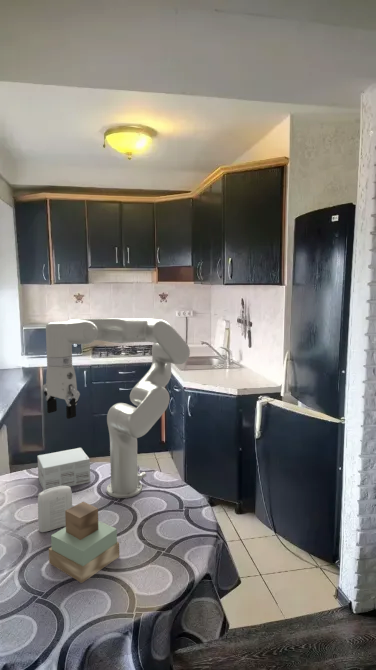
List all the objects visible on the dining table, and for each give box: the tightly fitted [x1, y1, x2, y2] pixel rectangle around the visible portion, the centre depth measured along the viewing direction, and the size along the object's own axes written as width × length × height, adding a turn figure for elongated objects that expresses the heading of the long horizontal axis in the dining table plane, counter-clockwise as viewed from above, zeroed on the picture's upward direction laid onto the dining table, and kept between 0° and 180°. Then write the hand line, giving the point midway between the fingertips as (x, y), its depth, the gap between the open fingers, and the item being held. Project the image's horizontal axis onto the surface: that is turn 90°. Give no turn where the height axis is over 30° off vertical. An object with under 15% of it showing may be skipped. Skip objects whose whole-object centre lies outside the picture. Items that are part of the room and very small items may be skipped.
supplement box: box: [36, 447, 91, 492], centre depth 162 cm, size 17×13×9 cm
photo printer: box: [37, 486, 73, 533], centre depth 131 cm, size 10×4×12 cm, turn 123°
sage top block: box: [50, 520, 118, 566], centre depth 115 cm, size 12×12×4 cm
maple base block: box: [48, 541, 120, 584], centre depth 116 cm, size 13×13×4 cm
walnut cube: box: [65, 501, 99, 540], centre depth 115 cm, size 6×6×6 cm
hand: (61, 414), depth 137 cm, fingers open, 9 cm apart
